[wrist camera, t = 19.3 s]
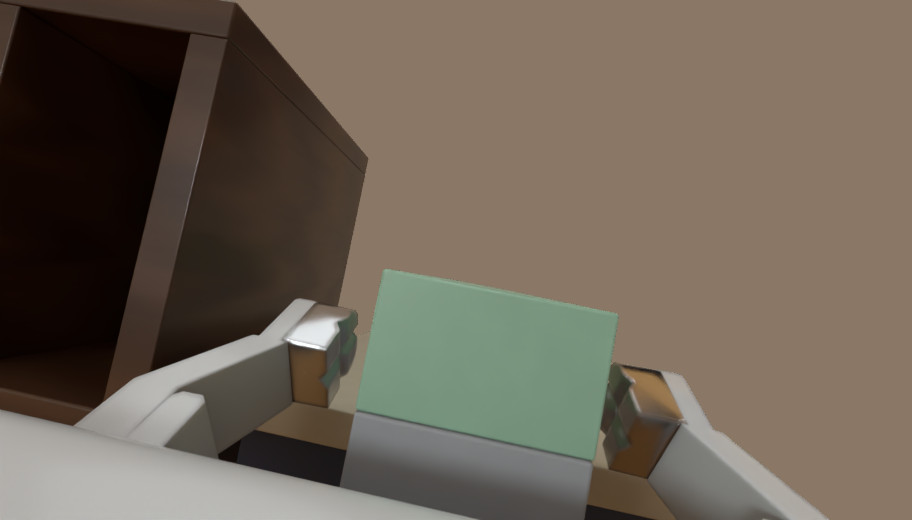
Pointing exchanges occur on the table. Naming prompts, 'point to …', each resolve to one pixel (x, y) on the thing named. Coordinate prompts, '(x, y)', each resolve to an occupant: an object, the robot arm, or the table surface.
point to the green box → (479, 400)
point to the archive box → (328, 431)
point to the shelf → (155, 194)
